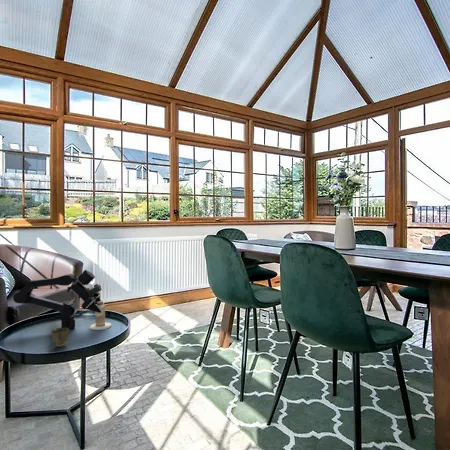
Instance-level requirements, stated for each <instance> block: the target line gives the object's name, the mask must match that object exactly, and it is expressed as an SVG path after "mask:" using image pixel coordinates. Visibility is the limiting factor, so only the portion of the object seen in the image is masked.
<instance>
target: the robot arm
mask: <svg viewBox="0 0 450 450" xmlns="http://www.w3.org/2000/svg"><path fill="white" fill-rule="evenodd" d="M95 278H96V276H95V274H93V273H92V272H91V271H88V270H87V269H84V270H83V271H82V273H81V274H80V275H74V274H73V273H65V274H63V275H60V276H56V277H49V278H40V279H30V280H29V281H27V283H26V284H25V285H24V286H23V287H22V288H21V289H20V290H19V291H18V292H16V293H14V294H13V296H12V299H13V302H14V303H16V304H22V305H23V304H24V305H26V304H27V305H28V304H30V305H31V304H32V305H35V306H39V307H42V308H46V309H50V310H54V311H57V312H59V314H60V315H59V316H58V318H59V320H60V327H61V328H62V329H63V328H66V327H67V328H69V331H72V330H75V328H76V319H75V317H74V316H75V314H76V313H77V312H78V308H79V307H78V305H77V304H76V303H75V301H70V300H65V301H63V302H60V301H55V300H52V299H48V298H45V297H41V296H38V295H35V294H33V290H34V289H35V288H41V287H48V286H49V287H50V286H63V287H64V286H65V287H67V293H69V292H71V291H72V292H73V293H74V294H75V295H77V298H78V299H80V300H82V301H83V303H82V304H81V308H82V309H83V310H87V311H90V312H91V311H92V312H94V313H95V312H98V313H101V310H100V309H99V308H98V306H97V305H96V304H97V302H99V301H102V300H101V296H102V295H101V291H103V290H102V286H101V285H100V284H98V283H96V284H94V285H93V287H92V288H89V287H86V286H89V284H90V283H91V282H92V281H93V280H94V279H95ZM69 285H70V286H69Z"/></svg>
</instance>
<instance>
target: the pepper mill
mask: <svg viewBox="0 0 450 450" xmlns="http://www.w3.org/2000/svg"><path fill="white" fill-rule="evenodd" d="M96 305H97V306H98V308H99V309H100V310H101V313H98V312H95V311H94V313H95V315H94V316H95V317H94V318H95V323H96V326H97V327H101V326H104V325H105V322H106V306H105V303H104V301H102V300H101V301H99V302H97V304H96Z"/></svg>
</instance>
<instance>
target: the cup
mask: <svg viewBox="0 0 450 450" xmlns="http://www.w3.org/2000/svg"><path fill="white" fill-rule="evenodd" d="M69 332H70V330H69V328H67V327H66V328H63V329H62V328H61V326H60V327H59V328H57V327H56V329H51V337H52V341H53V343H54V344H55V345H56V348H63V347H65V346H66V345H65V344H66V343H67V341H68V339H69Z"/></svg>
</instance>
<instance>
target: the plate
mask: <svg viewBox="0 0 450 450" xmlns="http://www.w3.org/2000/svg"><path fill="white" fill-rule="evenodd" d="M111 327H112V323H111V322H106V321H105V325H104V326H101V327H97V326H96V322H95V323H93V324H91V325H89V329H90V330H92V331H103V330H107V329H109V328H111Z"/></svg>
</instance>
